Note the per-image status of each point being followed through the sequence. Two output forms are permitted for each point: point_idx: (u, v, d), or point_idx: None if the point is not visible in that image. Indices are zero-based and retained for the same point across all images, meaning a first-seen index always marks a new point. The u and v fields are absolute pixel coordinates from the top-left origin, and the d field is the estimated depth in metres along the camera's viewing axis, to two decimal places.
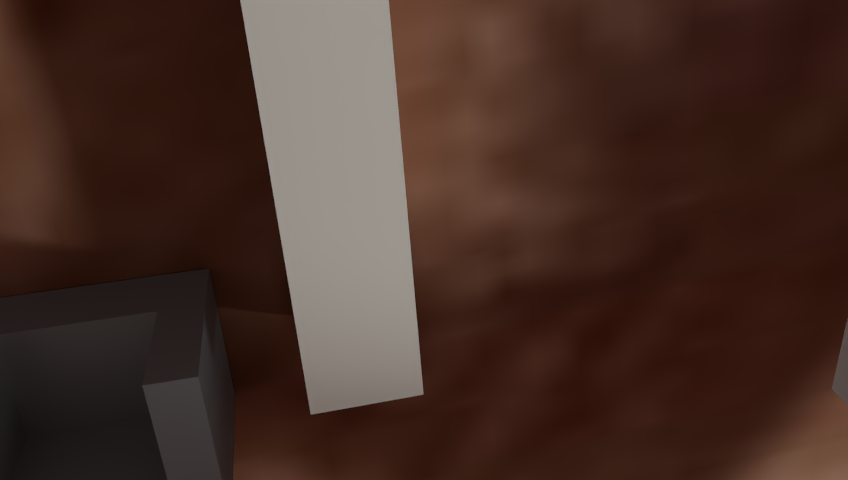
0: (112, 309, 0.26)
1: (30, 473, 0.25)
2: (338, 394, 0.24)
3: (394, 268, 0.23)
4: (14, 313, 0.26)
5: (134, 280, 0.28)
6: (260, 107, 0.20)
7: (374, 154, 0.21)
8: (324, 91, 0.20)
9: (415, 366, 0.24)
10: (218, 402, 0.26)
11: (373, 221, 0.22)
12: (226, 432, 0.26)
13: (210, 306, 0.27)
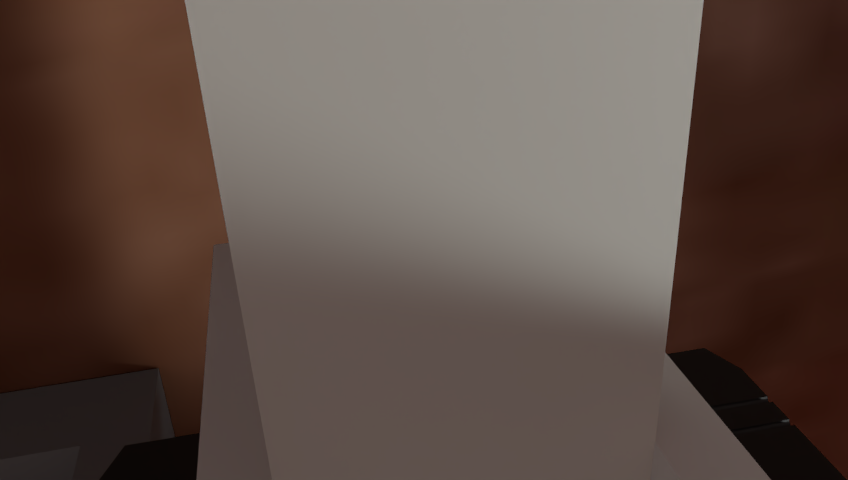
0: (14, 440, 0.18)
1: None
2: None
3: None
4: None
5: (51, 387, 0.20)
6: None
7: None
8: (463, 431, 0.07)
9: None
10: None
11: None
12: None
13: (159, 428, 0.19)
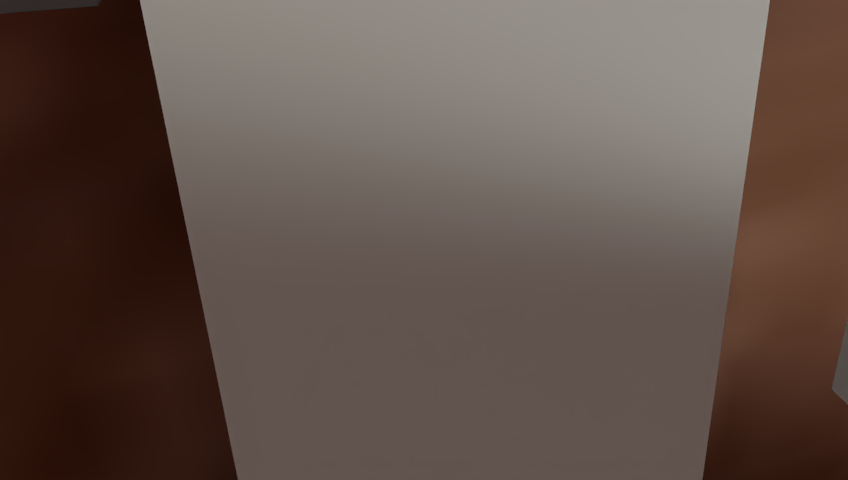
0: None
1: None
2: None
3: None
4: None
5: None
6: None
7: None
8: None
9: None
10: None
11: None
12: None
13: None
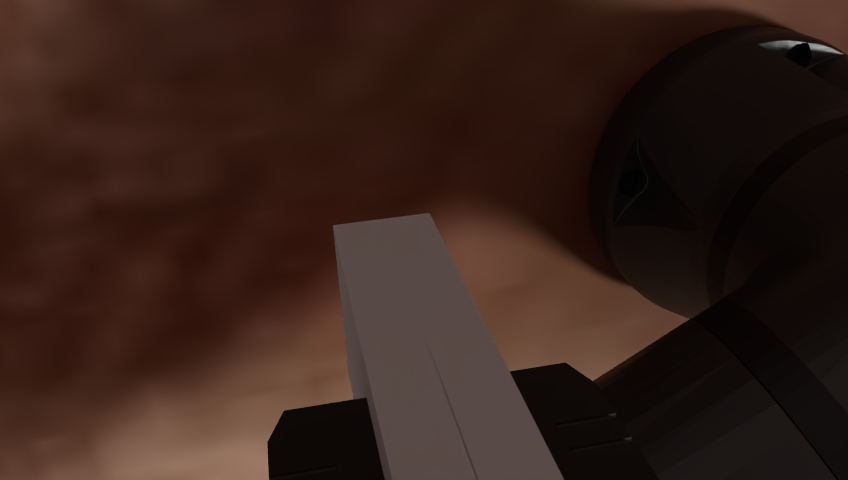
0: None
1: None
2: None
3: None
4: None
5: None
6: None
7: None
8: None
9: None
10: None
11: None
12: None
13: None
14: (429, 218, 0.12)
